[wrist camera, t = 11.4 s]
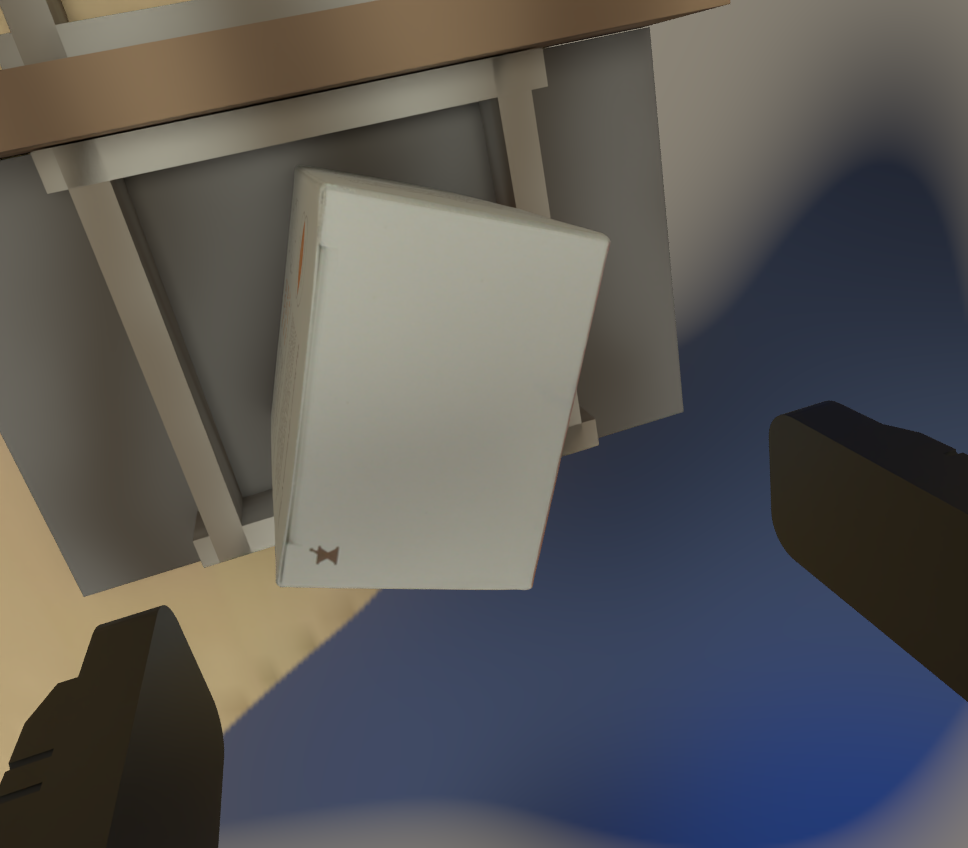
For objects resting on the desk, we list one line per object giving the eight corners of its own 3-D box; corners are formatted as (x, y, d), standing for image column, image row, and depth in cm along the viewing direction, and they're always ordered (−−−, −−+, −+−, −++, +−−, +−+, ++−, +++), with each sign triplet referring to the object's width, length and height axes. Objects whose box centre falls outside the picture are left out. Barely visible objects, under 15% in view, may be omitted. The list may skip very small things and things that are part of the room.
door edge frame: (580, -618, 18) (689, -867, 13) (675, 406, 29) (752, 456, 25) (-500, -580, 14) (-853, -913, 10) (87, 587, 25) (51, 685, 21)
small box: (433, 430, 26) (535, 602, 16) (266, 417, 24) (272, 601, 15) (476, 193, 23) (624, 235, 14) (293, 158, 22) (320, 179, 12)
